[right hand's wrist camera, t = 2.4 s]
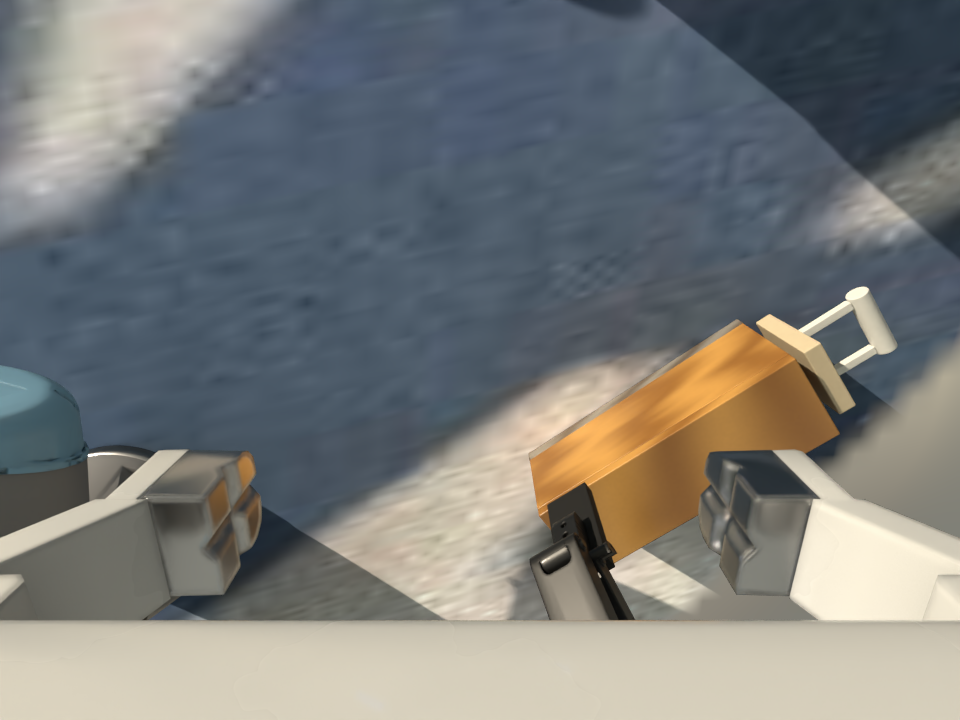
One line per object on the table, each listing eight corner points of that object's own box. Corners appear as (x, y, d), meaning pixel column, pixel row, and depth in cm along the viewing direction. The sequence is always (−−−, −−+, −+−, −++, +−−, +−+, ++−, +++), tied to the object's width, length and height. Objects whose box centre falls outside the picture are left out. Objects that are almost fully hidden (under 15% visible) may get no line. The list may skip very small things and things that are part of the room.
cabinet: (737, 319, 44) (795, 357, 35) (776, 383, 45) (841, 434, 37) (528, 453, 48) (538, 516, 40) (572, 507, 50) (590, 577, 42)
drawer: (833, 272, 41) (898, 295, 35) (864, 330, 43) (931, 361, 36) (564, 444, 46) (578, 491, 40) (601, 490, 48) (619, 542, 42)
